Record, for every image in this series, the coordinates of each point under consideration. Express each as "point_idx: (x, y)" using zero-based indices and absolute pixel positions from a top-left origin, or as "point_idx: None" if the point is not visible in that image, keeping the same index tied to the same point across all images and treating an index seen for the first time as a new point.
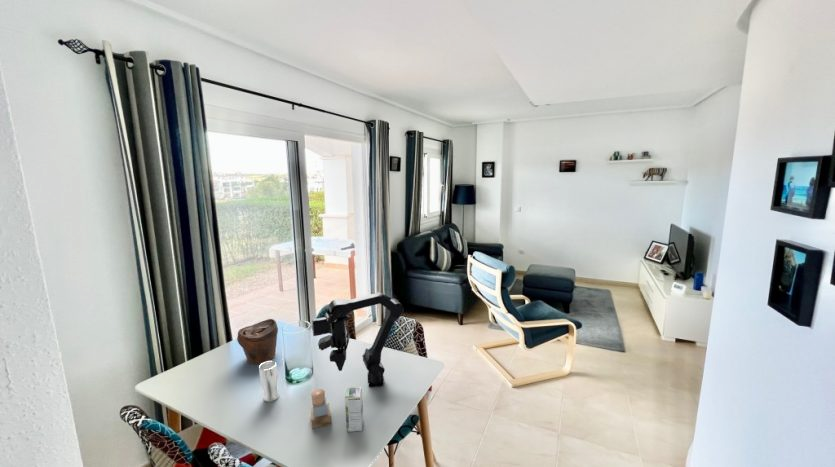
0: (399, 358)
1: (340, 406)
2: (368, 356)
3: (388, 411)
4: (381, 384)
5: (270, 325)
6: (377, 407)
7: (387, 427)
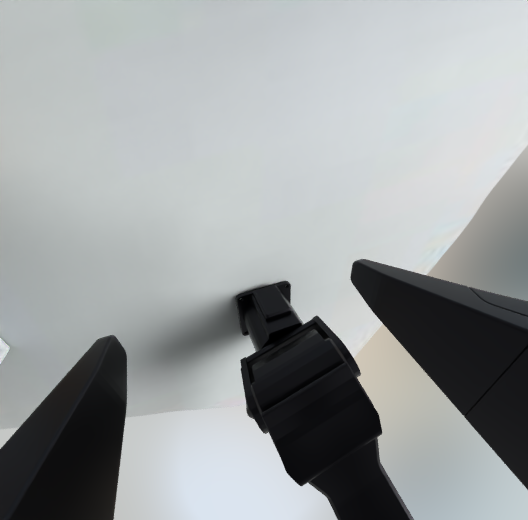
0: (365, 322)
1: (68, 222)
2: (298, 458)
3: None
4: (245, 330)
5: None
6: None
7: (15, 418)
